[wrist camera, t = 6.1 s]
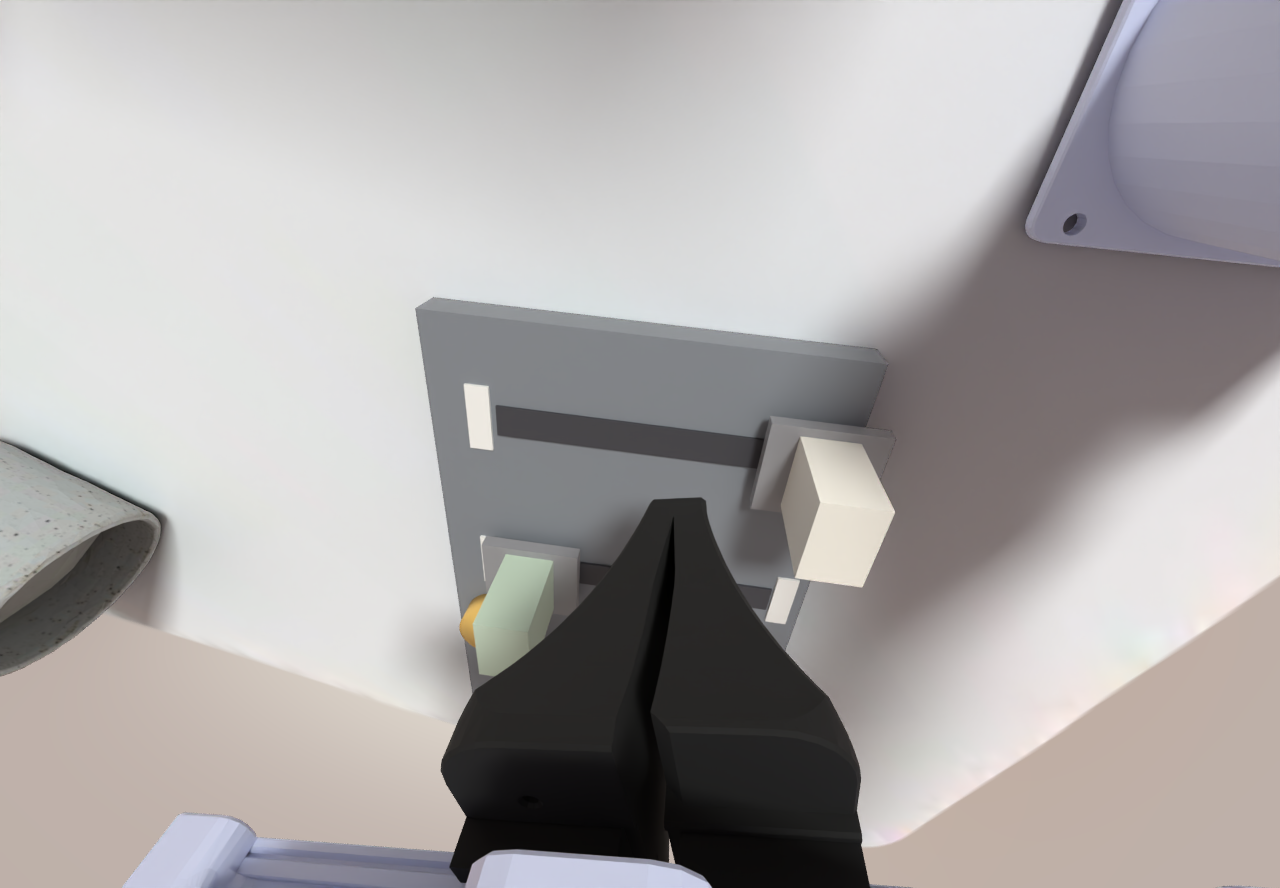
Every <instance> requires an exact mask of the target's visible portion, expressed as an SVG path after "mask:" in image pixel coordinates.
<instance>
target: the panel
mask: <svg viewBox="0 0 1280 888" xmlns="http://www.w3.org/2000/svg"><path fill="white" fill-rule="evenodd" d="M415 309H416V316H417V323H418V330H419V336H420V343H421V350H422V357H423V363H424V370H425V377H426V383H427V390H428V397H429V404H430V410H431V417H432V424H433V431H434V437H435V444H436V451H437V458H438V464H439V471H440V478H441V484H442V491H443V498H444V505H445V511H446V518H447V525H448V532H449V538H450V545H451V552H452V559H453V565H454V572H455V579H456V585H457V592H458V599H459V606H460V612H461V619H462V620H461V622H460V632H461V635H462V636H463V638H464V639H465V646H466V653H467V659H468V666H469V673H470V680H471V686H472V693H473V692H474V690H475V689H477V688H478V687H480V686H481V685H483V684H484V683H486V682H487V681H489V680H490V679H492V678H493V677H495V676H489V675H482V674H479V668H478V661H477V653H476V645H475V638H474V630H473V622H474V620H475V618H476V616H477V614H478V612H479V610H480V608H481V605H482V603H483V601H484V599H485V597H486V595H487V592H486V582H485V573H484V563H483V554H482V543H483V541H484V539H485V538H486V536H492V537H499V538H506V539H513V540H520V541H527V542H535V543H542V544H549V545H556V546H563V547H570V548H577V549H580V578H579V605H580V604H581V603H582V601H583V600H584V599H585V598H586V597H587V596H588V595H589V594H590V593H591V591H592V590H593V589H594V588H595V587H596V585H597V584H598V583H599V582H600V580H601V579H602V578H603V577H604V575H605V574H606V573H607V571H608V570H609V569H610V567H611V566H612V564H613V563H614V562H615V560H616V559H617V558H618V556H619V555H620V553H621V552H622V550H623V549H624V547H625V546H626V544H627V543H628V541H629V539H630V538H631V536H632V535H633V533H634V531H635V530H636V528H637V526H638V525H639V523H640V521H641V519H642V518H643V516H644V514H645V512H646V510H647V508H648V506H649V504H650V503H651V502H652V501H653V500H654V499H673V498H695V497H702V498H703V499H704V500H706V506H707V515H708V519H709V523H710V526H711V529H712V532H713V535H714V537H715V540H716V542H717V545H718V547H719V549H720V552H721V554H722V556H723V558H724V560H725V562H726V565H727V566H728V568H729V570H730V572H731V574H732V576H733V578H734V580H735V581H736V583H737V585H738V587H739V588H740V590H741V592H742V593H743V595H744V596H745V598H746V600H747V601H748V603H749V604H750V606H751V607H752V609H753V610H754V612H755V613H756V614H757V616H758V617H759V619H760V620H761V622H762V623H763V624H764V626H765V627H766V628H767V629H768V631H769V632H770V633H771V634H772V636H773V637H774V638H775V639H776V641H777V642H778V643H779V644H780V646H781V647H782V648H783V649H784V651H785V650H786V647H787V644H788V642H789V639H790V636H791V633H792V630H793V628H794V625H795V622H796V619H797V617H798V614H799V611H800V608H801V605H802V603H803V600H804V597H805V594H806V592H807V589H808V586H809V583H810V580H805V579H797V578H795V576H794V571H793V566H792V561H791V556H790V551H789V546H788V540H787V535H786V530H785V525H784V520H783V515H782V513H780V512H772V511H765V510H757V509H751V506H750V496H751V492H752V488H753V484H754V480H755V476H756V472H757V468H758V464H759V460H760V456H761V451H762V447H763V443H764V439H765V435H766V431H767V427H768V423H769V419H770V416H777V417H785V418H793V419H801V420H809V421H817V422H825V423H833V424H841V425H849V426H857V427H866V425H867V422H868V419H869V417H870V414H871V411H872V408H873V405H874V403H875V400H876V397H877V394H878V392H879V389H880V386H881V383H882V380H883V378H884V375H885V372H886V369H887V367H888V363H887V362H886V360H885V359H884V358H883V357H882V355H881V354H880V353H879V351H878V350H877V349H872V348H863V347H855V346H846V345H838V344H829V343H820V342H812V341H803V340H795V339H786V338H777V337H769V336H760V335H752V334H743V333H734V332H726V331H717V330H709V329H700V328H692V327H683V326H674V325H666V324H657V323H649V322H640V321H631V320H623V319H614V318H606V317H597V316H588V315H580V314H571V313H563V312H554V311H546V310H537V309H528V308H520V307H511V306H503V305H494V304H485V303H477V302H468V301H460V300H451V299H442V298H434V297H433V298H432V299H430V300H428V301H427V302H425V303H423V304H422V305H420V306H419V307H417V308H415ZM567 617H568V616H566V615H559V614H552V616H551V619H550V622H549V625H548V628H547V631H546V635H545V638H546V637H547V636H548V635H549V634H550V633H551V632H553V631H554V630H555V629H556V628H557V627H558V626H559V625H560V624H561V623H562V622H563V621H564V620H565V619H566V618H567Z"/></svg>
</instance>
